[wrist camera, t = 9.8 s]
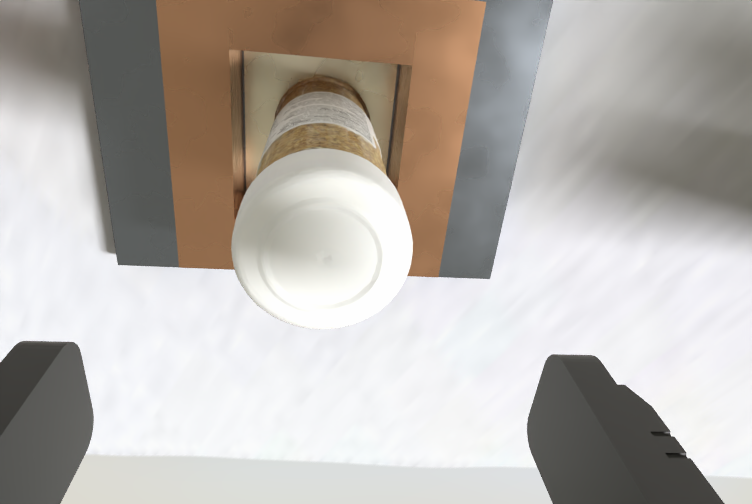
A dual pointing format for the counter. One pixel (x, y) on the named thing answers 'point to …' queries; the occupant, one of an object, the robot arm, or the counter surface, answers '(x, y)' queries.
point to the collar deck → (269, 84)
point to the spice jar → (321, 214)
